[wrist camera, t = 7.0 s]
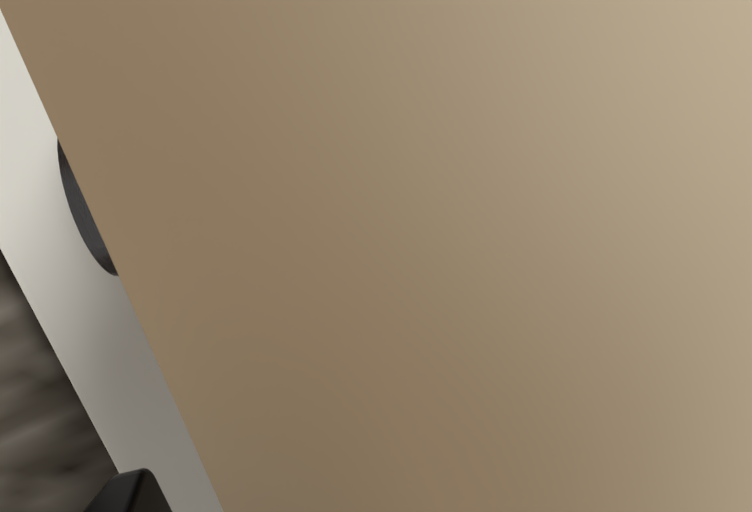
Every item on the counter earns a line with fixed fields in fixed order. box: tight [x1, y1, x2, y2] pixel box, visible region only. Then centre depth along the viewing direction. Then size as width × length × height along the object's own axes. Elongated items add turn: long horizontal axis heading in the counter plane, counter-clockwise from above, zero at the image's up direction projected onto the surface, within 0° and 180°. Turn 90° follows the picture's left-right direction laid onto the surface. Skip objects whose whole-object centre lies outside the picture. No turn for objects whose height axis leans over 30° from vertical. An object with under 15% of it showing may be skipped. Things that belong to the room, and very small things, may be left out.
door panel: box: [0, 0, 752, 512], centre depth 9 cm, size 4×12×8 cm, turn 11°
